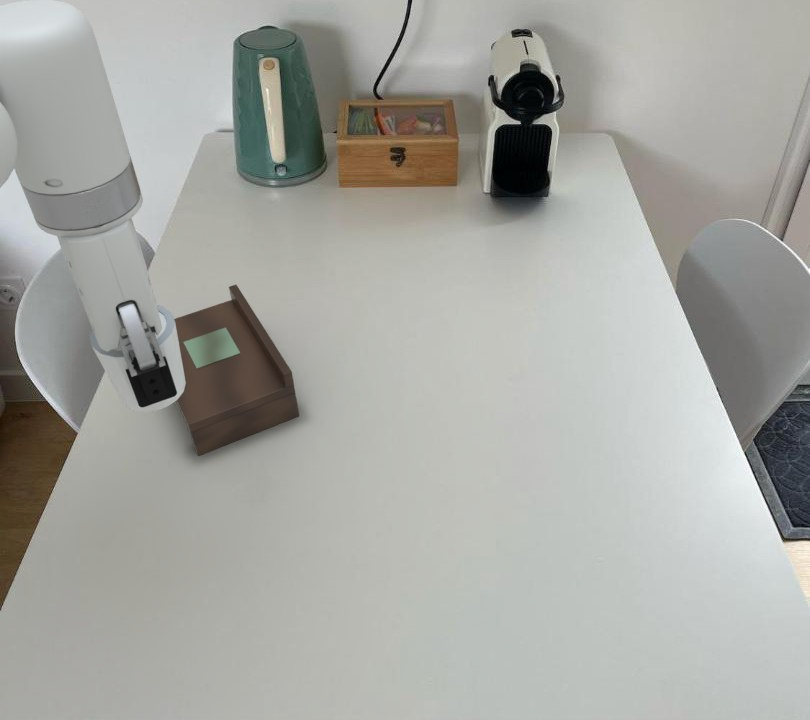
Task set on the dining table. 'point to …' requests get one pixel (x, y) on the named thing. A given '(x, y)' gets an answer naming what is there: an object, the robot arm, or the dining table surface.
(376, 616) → the dining table surface
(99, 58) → the robot arm
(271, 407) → the shelf
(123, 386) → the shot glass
